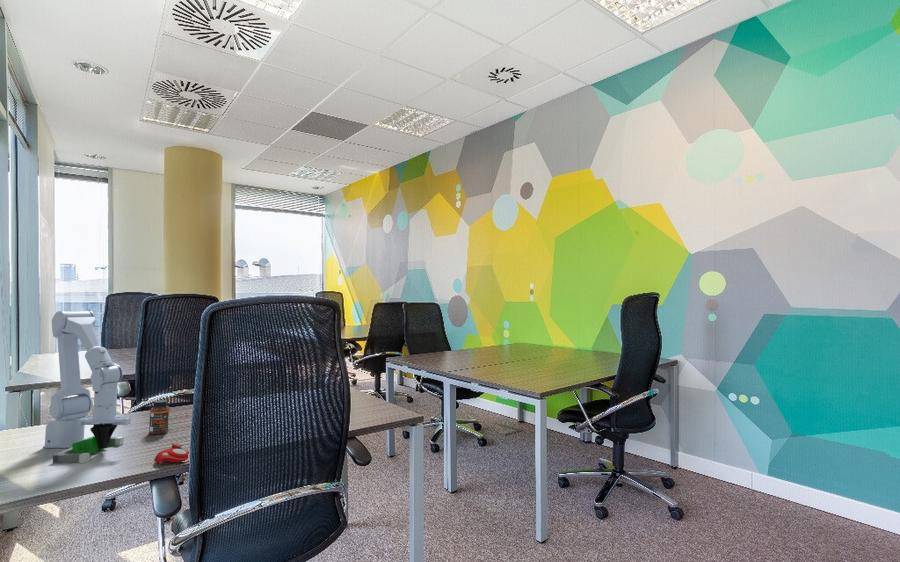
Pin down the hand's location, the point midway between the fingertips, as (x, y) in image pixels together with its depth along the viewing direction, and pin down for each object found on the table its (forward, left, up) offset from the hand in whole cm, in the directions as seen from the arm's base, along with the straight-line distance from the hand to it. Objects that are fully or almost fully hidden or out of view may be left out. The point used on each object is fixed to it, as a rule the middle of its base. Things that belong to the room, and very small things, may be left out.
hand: (103, 448), depth 139 cm
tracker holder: (+25, -5, -2) cm, 26 cm away
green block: (-3, +1, -1) cm, 3 cm away
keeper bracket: (-3, 0, -1) cm, 4 cm away
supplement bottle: (+5, +21, -2) cm, 22 cm away
